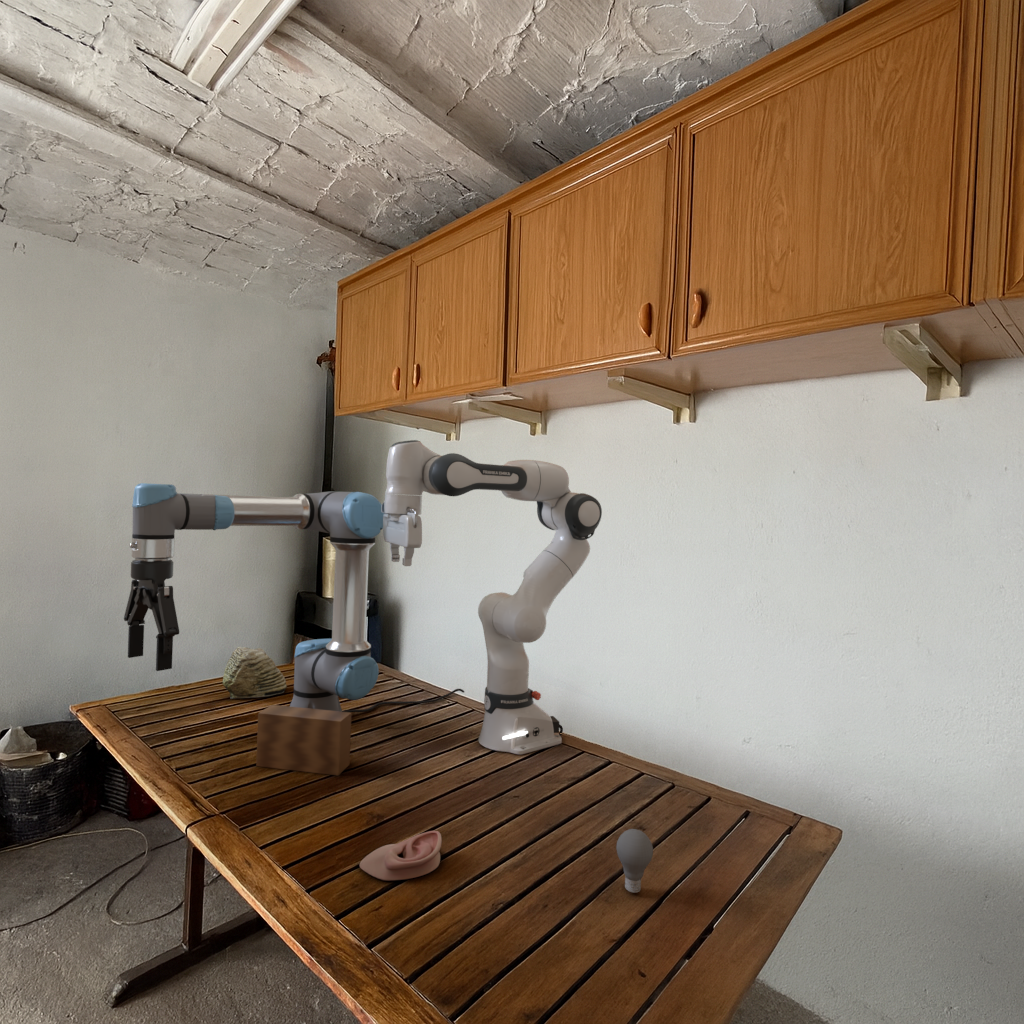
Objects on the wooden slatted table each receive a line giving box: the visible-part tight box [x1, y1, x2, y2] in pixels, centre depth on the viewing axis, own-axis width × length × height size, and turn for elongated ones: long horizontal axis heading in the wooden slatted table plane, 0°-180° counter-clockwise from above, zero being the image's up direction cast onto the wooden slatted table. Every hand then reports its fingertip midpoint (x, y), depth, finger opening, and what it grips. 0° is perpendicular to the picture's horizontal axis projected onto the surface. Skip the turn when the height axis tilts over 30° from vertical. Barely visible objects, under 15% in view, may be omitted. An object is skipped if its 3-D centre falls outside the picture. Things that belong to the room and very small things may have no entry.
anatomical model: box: [359, 830, 443, 882], centre depth 111 cm, size 13×4×12 cm
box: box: [255, 704, 352, 777], centre depth 149 cm, size 20×6×12 cm, turn 81°
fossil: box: [222, 646, 288, 699], centre depth 198 cm, size 9×18×15 cm, turn 132°
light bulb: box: [615, 828, 654, 894], centre depth 106 cm, size 6×6×10 cm
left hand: (149, 663), depth 129 cm, fingers open, 13 cm apart
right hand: (400, 563), depth 154 cm, fingers open, 8 cm apart
